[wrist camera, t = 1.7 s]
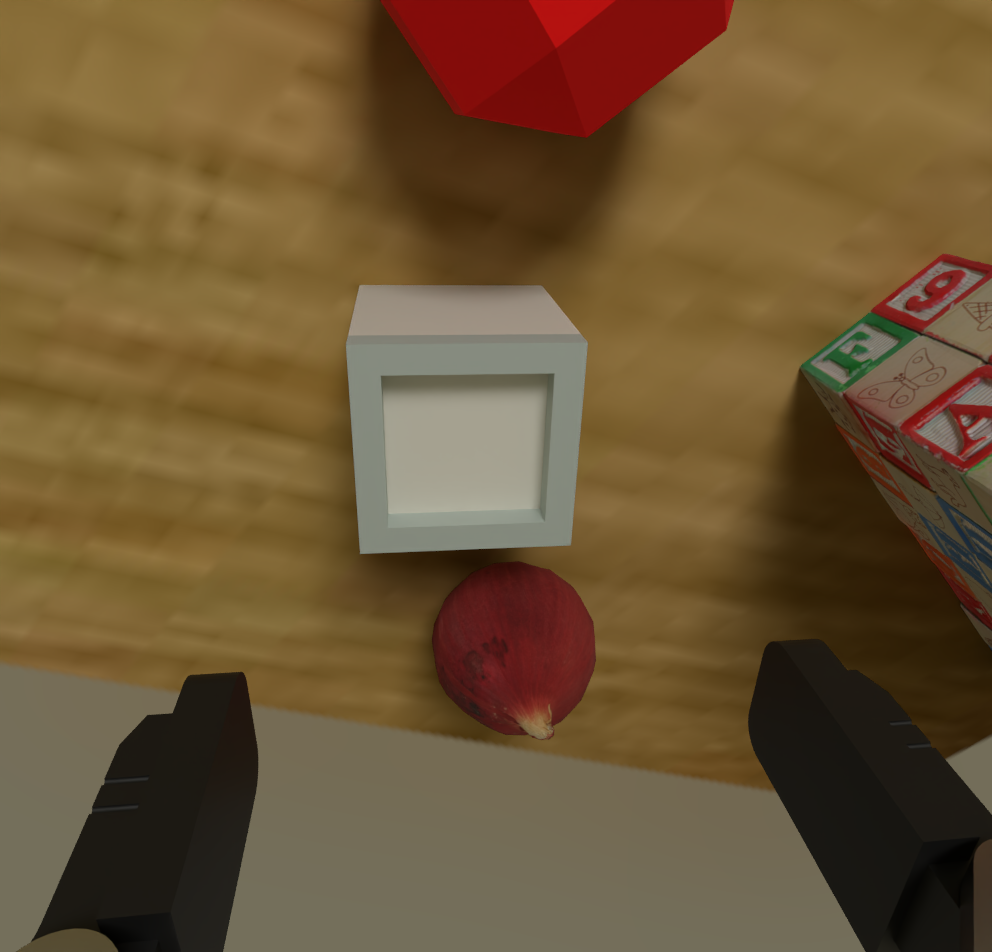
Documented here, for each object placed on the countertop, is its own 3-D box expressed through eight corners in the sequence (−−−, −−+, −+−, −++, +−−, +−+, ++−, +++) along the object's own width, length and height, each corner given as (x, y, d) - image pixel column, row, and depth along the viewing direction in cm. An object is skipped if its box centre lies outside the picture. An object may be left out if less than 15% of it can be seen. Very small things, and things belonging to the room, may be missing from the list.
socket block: (541, 284, 24) (587, 342, 18) (532, 448, 27) (570, 545, 21) (359, 284, 24) (345, 344, 18) (369, 452, 26) (360, 553, 20)
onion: (439, 650, 31) (450, 813, 24) (420, 534, 28) (426, 678, 21) (575, 630, 31) (626, 784, 24) (569, 513, 28) (624, 648, 21)
